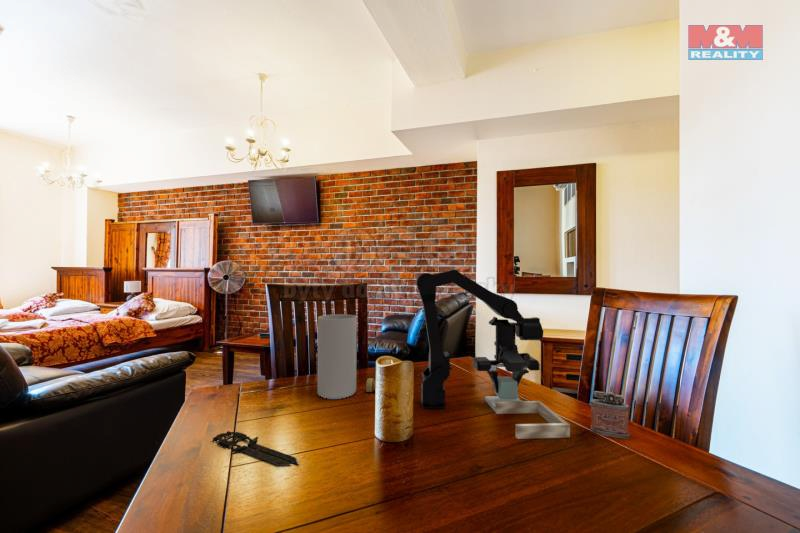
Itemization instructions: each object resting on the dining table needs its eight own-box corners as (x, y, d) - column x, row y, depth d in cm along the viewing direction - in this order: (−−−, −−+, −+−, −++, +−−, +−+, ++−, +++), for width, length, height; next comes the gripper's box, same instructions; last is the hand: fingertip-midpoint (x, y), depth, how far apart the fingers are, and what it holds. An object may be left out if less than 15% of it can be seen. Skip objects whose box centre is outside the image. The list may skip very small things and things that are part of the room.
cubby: (517, 438, 78) (517, 426, 78) (495, 412, 93) (495, 401, 93) (570, 437, 79) (569, 424, 79) (539, 411, 94) (539, 400, 94)
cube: (500, 399, 96) (500, 382, 96) (494, 393, 101) (494, 376, 101) (517, 399, 96) (517, 381, 96) (510, 392, 101) (510, 376, 101)
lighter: (627, 433, 81) (627, 392, 81) (630, 440, 78) (630, 397, 78) (590, 427, 84) (589, 388, 85) (591, 433, 81) (591, 392, 82)
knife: (304, 465, 68) (304, 458, 68) (277, 481, 63) (277, 473, 63) (235, 432, 82) (235, 426, 82) (208, 443, 77) (209, 437, 77)
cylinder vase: (337, 384, 117) (338, 313, 117) (364, 391, 110) (364, 316, 110) (309, 394, 107) (310, 317, 107) (336, 403, 99) (336, 320, 100)
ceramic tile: (494, 410, 94) (494, 406, 94) (485, 400, 102) (485, 396, 102) (528, 410, 95) (528, 406, 95) (516, 399, 103) (516, 395, 103)
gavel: (376, 366, 129) (401, 367, 128) (376, 378, 128) (401, 379, 128) (366, 380, 108) (396, 381, 107) (365, 394, 108) (396, 395, 107)
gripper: (483, 346, 90) (483, 403, 90) (549, 345, 92) (549, 402, 91) (472, 338, 102) (472, 389, 101) (530, 337, 103) (531, 388, 102)
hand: (505, 392), depth 99 cm, fingers closed on cube, 5 cm apart
